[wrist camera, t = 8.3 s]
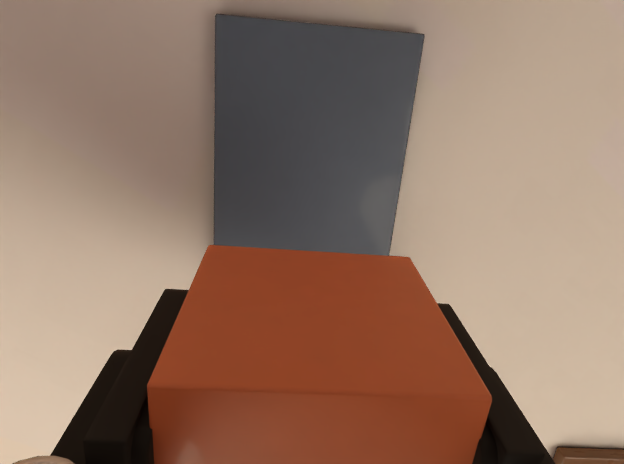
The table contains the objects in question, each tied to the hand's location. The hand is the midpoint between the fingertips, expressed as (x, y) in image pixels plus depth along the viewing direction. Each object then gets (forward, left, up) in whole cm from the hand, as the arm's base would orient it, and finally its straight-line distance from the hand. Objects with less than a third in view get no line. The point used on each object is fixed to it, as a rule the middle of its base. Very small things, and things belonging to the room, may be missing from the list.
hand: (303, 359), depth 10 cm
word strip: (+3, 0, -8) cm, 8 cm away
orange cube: (0, 0, -1) cm, 1 cm away
